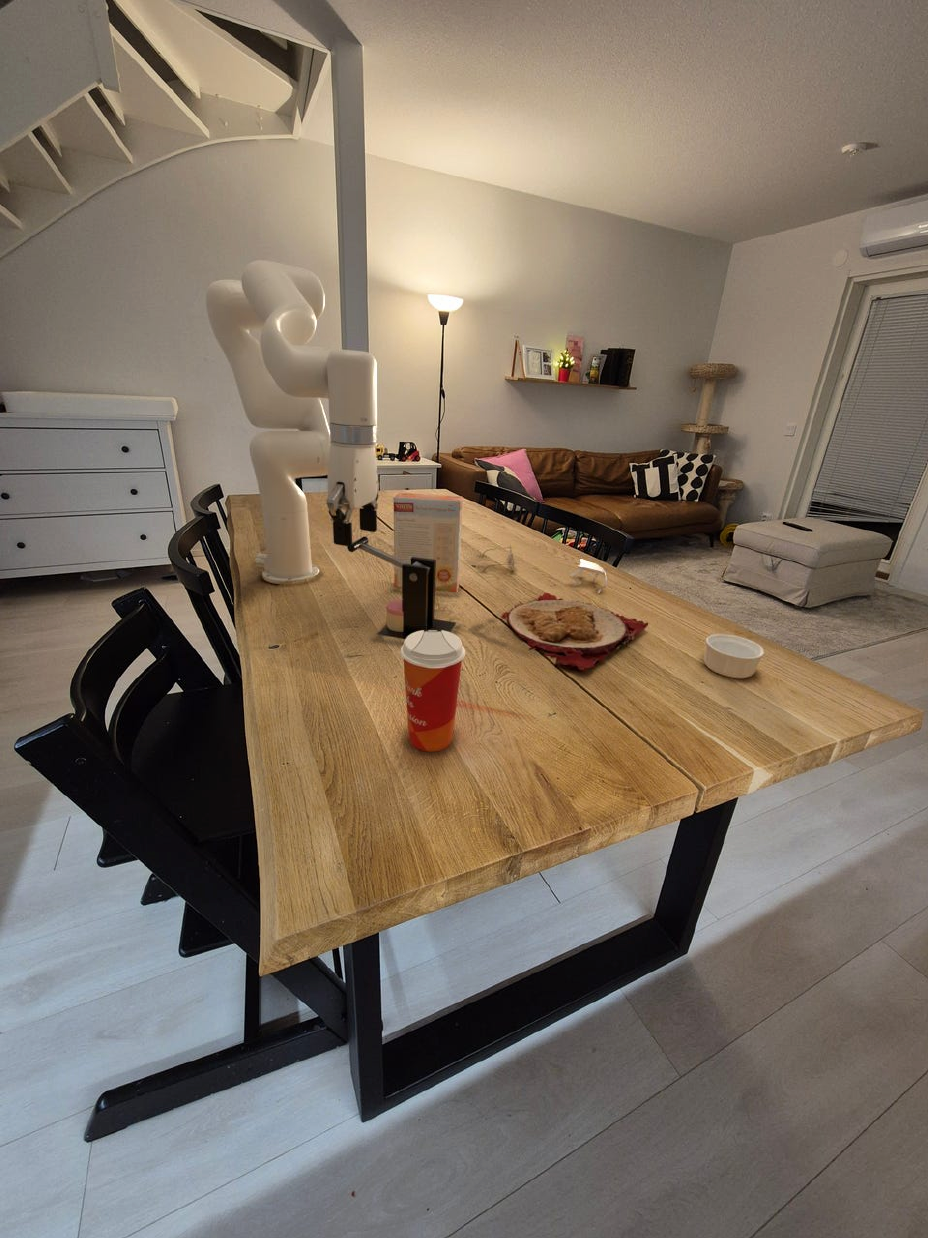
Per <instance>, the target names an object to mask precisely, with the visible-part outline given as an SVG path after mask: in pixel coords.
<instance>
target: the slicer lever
mask: <svg viewBox="0 0 928 1238" xmlns="http://www.w3.org/2000/svg"><path fill="white" fill-rule="evenodd" d="M369 542H370V541H369V538H368V537H367V536H361V537H360V538H358V539H356V540H354V541H352V545H351V546H346V549H347V550H348V552H349V553H354V552H355V551H357V550H362V551H363V552H366V553H367V554H370V555H372V556H374V557H376V558H379V559H381V560H383V561H384V562H387V563H390V564H391V565H393V566H394V565H396V566H398V567H400V568H402V565H403V564H404V563H405V564H409V563H407V562H405V561H403V560H401V559H398V558H396V557H394V555H392V554H389V553H387V552H386V551H384V550H382V549H378V548H377V547H375V546H372V545H370V544H369ZM413 565H420V566H426V565H423V564H421V563H419V562H417V561H416V562H415V563H414V564H413ZM427 567H428V566H427ZM429 570H430V567H428V573H429Z"/></svg>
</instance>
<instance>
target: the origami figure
mask: <svg viewBox="0 0 928 1238" xmlns="http://www.w3.org/2000/svg"><path fill="white" fill-rule="evenodd" d="M579 562H580V563H579V565H577V567H576V568H577V569H576V570H574V571H572V572H571V573H570V574H569V575H568V577H570V578H571V579H573V580H574V581H575V582H576V583H573V584H571V586H572V587H576V586H577V585H580V584H582V582H581V581H580V580H579V579H582V574H583V571H587V572H592V573H595V575H594V577H593V579H592V581H593V583H594V584H596V579H597V578H598V576H599V575H603V582H604V583H603V586H601V587H599V590H598V591H597V594H600V593H601V592H602V590H603V589H605V588H606V587H607V586H608V578H607V573H606V570H605V569H604V568H603V567H602V566H601V565H599V564H598V563H596V562H592V561H589V560H585V559H583V558H582V559H580V561H579ZM578 574H579V579H578V578H577V577H576V576H577V575H578Z"/></svg>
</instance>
